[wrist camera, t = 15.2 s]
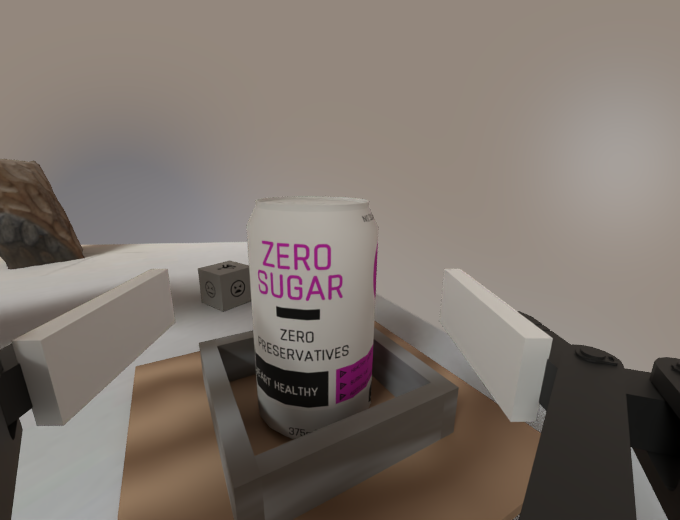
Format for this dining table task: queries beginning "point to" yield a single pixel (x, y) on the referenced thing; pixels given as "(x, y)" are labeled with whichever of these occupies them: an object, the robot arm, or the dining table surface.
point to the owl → (32, 219)
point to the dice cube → (225, 285)
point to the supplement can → (312, 309)
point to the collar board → (319, 445)
